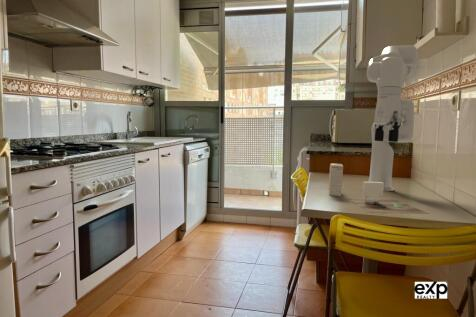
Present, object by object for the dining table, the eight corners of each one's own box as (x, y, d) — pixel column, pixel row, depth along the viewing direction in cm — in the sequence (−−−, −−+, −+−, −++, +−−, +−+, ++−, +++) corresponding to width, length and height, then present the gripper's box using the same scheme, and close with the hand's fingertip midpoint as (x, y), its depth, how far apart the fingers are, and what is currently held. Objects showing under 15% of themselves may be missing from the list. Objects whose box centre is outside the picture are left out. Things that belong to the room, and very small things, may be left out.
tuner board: (342, 199, 140) (342, 196, 140) (391, 200, 142) (391, 197, 142) (370, 216, 116) (370, 212, 116) (429, 217, 118) (429, 213, 118)
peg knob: (359, 200, 133) (361, 180, 132) (377, 201, 134) (379, 181, 133) (374, 208, 121) (376, 186, 120) (394, 209, 122) (396, 187, 121)
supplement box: (341, 199, 142) (343, 165, 140) (328, 198, 143) (330, 165, 141) (339, 195, 150) (342, 163, 148) (327, 194, 151) (329, 162, 149)
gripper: (368, 95, 137) (364, 140, 138) (392, 89, 120) (388, 141, 121) (386, 96, 138) (383, 141, 139) (414, 91, 121) (409, 142, 122)
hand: (385, 141), depth 130 cm, fingers open, 9 cm apart
